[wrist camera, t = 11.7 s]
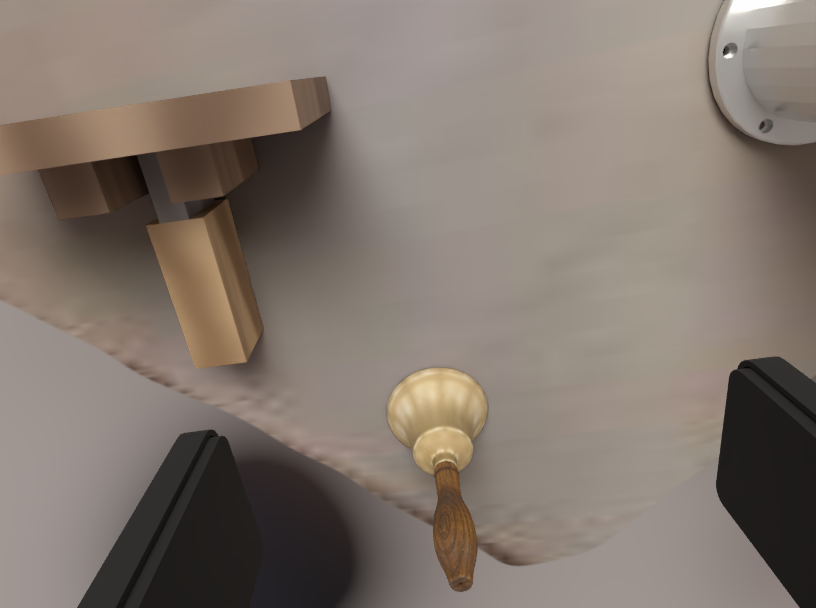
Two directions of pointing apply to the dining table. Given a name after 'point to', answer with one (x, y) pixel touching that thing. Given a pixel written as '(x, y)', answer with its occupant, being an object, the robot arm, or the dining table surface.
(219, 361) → the tan and gray block
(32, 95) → the dining table surface
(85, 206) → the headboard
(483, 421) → the hand bell
